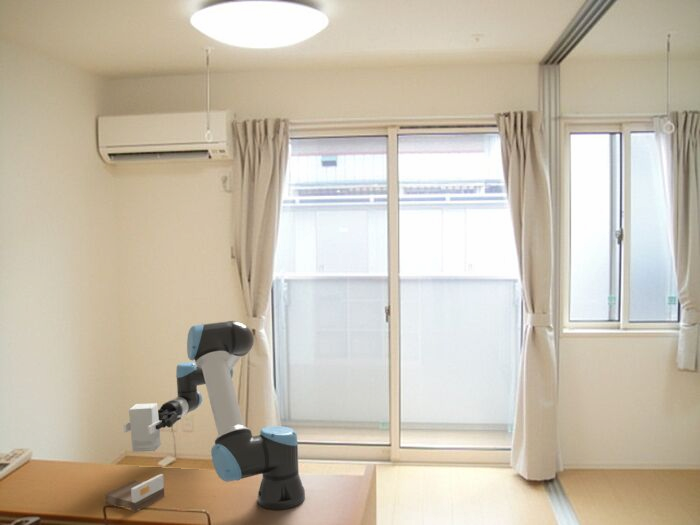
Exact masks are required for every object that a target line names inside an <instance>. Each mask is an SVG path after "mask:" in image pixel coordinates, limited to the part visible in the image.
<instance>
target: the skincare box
mask: <svg viewBox="0 0 700 525" xmlns="http://www.w3.org/2000/svg"><path fill="white" fill-rule="evenodd" d="M158 410H159V408H158V403H157V402H155V403H154V402H151V403H135V404H134V405H133V406H131V407H130V408H129V409H128V414H129V415H128V416H129V422H130V428H131V430H130V435H131V436H130V438H131V447H132V453H141V452H142V453H143V452H155V451H157V450H158V448H160V446H161V445H162V442H161V430H160V429H161V428H160V429H159V430H157V431H155V432H153V433H152V434H148V426H150V425H152V424H153V423H155V422H157V421H159V416H158Z"/></svg>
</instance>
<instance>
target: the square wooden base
mask: <svg viewBox="0 0 700 525" xmlns="http://www.w3.org/2000/svg"><path fill="white" fill-rule="evenodd" d="M104 496H105V498H104V500H105V504H106V505H109V506H112V505H114V507H116V506H124V507H128V508H131V509H130V510H132V511H131V512H133V511H134V513H136V512H139V511H138V509H140V508H142V509H144V508H146V507H148V506H150V505H151V504H154V503H155V502H157V501H159V500H160V499H163V498H164V497H165V482H164V474H162V473H160V474H158V475H155V476H153V477H151V478H150V479H148V480H145V481H139V480H135V479H134V480H132V481H130V482H128V483H126V484H123V485H122V486H120V487H118V488H116V489H113V490H112V491H110V492H108V493H105V494H104Z"/></svg>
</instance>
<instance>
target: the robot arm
mask: <svg viewBox="0 0 700 525" xmlns="http://www.w3.org/2000/svg"><path fill="white" fill-rule="evenodd" d="M254 341H255V340H254V334H253V332H252V330H251V328H250V327H249V326H247V325H246V324H245V323H243V322H240V321H236V320H230V321H229V320H228V321H220V322H219V321H218V322H211V323H205V324H204V323H201V324H195V325H192V326H190V328H189V331H188V333H187V341H186V353H187V358H188V359H189V360H190V361H187V362H186V361H185V362H181V363H179V364H177V365H176V375H175V377H176V388H177V396H176V397H175V398H173V399H171V400H168V401H167V402H164V403H163V404H162V405H161V406H160V408H158V416H159V421H157V422H155V423H153V424H152V425H150V426H148V434H152V433H153V432H155V431H157V430H159V429H162V428H163V429H164V428H166V427H167V428H171V427H172V426H173V425H174V424H176V423H177V422H178V421H179V420H181V419H182V417H183V416H185V415H187V414H189V413H191V412H193V411H195V410H196V409H198V407H200V406H201V405H202V402H203V396H202V394H201V392H200V391H199V390H198V386H201V385H205V386H206V391H207V395H208V398H209V403H210V407H211V411H212V415H213V420H214V423H215V427H216V428H215V429H216V432H217V436H216V438H215V439H214V445H213V446H212V447H211V461H212V465H213V467H214V470H215V472H216V475H217V476H218V478H220V480H222V481H223V482H225V483H228V482H234V481H238V482H239V481H240V480H243V479H246V478H250V477H251V478H252V477H254V476H257V475H258V476H259V475H262V478H261V482H260V486H259V489H258V493H257V503H258V505H260V507H262V508H264V509H268V510H275V511H277V510H278V511H281V510H287V509H288V510H289V509H292V508H294V507H297V506H299V505H301V504H302V503H303V502H304V500H306V493H305V492H306V491H305V488H304V486H303V482H302V479H301V477H300V474H299V472H300V471H299V448H298V445H299V443H298V437H297V435H298V434H297V432H296V431H295V430H294V429H292V428H290V427H287V426H284V425H283V426H281V425H269V426H264V427H263V428H260V432H259V435H253V434H252V431H251V429H250V428H249V427H247V426H245V423H244V418H243V416H242V412H241V408H240V405H239V401H238V397H237V393H236V389H235V386H234V381H233V375H234V367H235V366H236V365H237V363H238V362H239V360H240V359H241V358H242V357H244V356H246V355H247V354H248V353H249V352H250V351H251V350H252V349H253V346H254ZM193 361H194V362H193ZM129 431H130V432H131V428H130V421H128V422H127V423H124V424H123V432H124V433H127V432H128V433H129Z"/></svg>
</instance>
